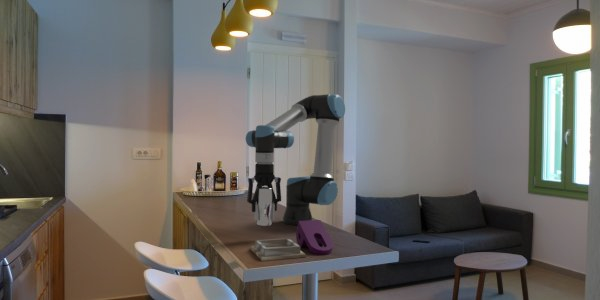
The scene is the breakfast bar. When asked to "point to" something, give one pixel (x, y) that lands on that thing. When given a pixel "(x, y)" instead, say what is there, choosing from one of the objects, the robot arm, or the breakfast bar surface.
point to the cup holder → (277, 249)
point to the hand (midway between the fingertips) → (264, 219)
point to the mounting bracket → (314, 236)
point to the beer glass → (264, 206)
